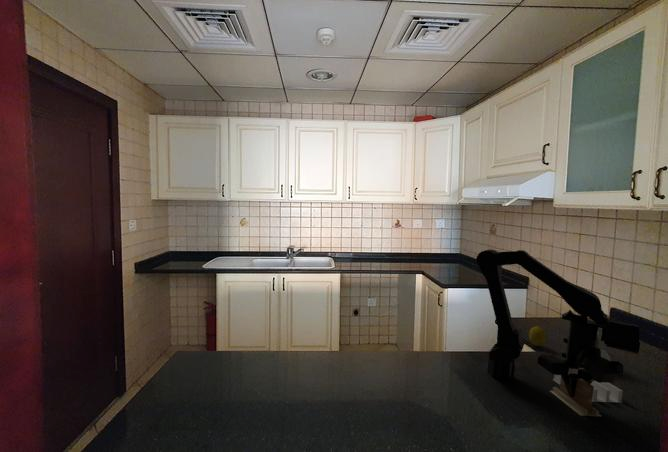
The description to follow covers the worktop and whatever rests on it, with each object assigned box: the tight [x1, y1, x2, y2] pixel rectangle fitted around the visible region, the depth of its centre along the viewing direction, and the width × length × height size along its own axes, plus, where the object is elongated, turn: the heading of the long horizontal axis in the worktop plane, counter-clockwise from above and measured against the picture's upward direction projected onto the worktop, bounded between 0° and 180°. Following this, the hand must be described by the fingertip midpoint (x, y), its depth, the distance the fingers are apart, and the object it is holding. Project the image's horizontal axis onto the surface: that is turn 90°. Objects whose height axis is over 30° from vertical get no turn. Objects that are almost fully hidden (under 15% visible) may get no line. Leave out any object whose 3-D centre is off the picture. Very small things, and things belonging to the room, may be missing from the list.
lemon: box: [528, 325, 547, 347], centre depth 115 cm, size 6×6×8 cm
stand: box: [549, 386, 602, 417], centre depth 79 cm, size 6×10×2 cm, turn 3°
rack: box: [552, 374, 624, 403], centre depth 85 cm, size 12×10×4 cm
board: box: [559, 377, 594, 413], centre depth 79 cm, size 2×8×7 cm, turn 3°
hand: (574, 396), depth 79 cm, fingers closed
